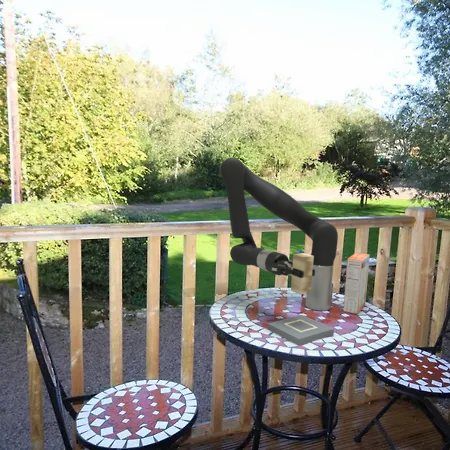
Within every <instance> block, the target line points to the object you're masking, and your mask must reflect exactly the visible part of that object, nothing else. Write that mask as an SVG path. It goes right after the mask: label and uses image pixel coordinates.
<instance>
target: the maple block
mask: <svg viewBox="0 0 450 450" xmlns="http://www.w3.org/2000/svg"><path fill="white" fill-rule="evenodd" d="M313 260H314V256H312V255H311V254H309V253H304V252H302V253H301V252H300V253H294V254H293V257H292V261H293V268H294V269H298V270H302V271H304V277H303V278H299V277H297V276H291V282H290V291H291V292H294V293H296V294H298V295H306V293H311V283H312V270H313Z"/></svg>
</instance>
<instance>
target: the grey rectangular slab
mask: <svg viewBox="0 0 450 450" xmlns="http://www.w3.org/2000/svg"><path fill="white" fill-rule="evenodd" d="M267 330H269V331H270V332H272V333H274V334H275V335H278V336H279V337H281V338H284V339H285V340H287V341H289V342H292V343H293V344H295V345H297V346H301V345H305V344H308V343H311V342H315V341H317V340H320V339H325V338H327V337H330V336H334V335H335V334H334V333H335V329H334V328H333V327H330V326H328V325H326V324H324V323H322V322H319V321H317V320H314V319H312V318H310V317H308V316H305V315H303V314H302V315H301V314H300V315H297V316H292V317H288V318H284V319H280V320H276V321H271V322H268V323H267ZM324 337H325V338H324Z"/></svg>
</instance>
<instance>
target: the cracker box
mask: <svg viewBox="0 0 450 450" xmlns="http://www.w3.org/2000/svg"><path fill="white" fill-rule="evenodd" d="M370 255H371V254H368V253H363V252H355V253H353V254H352V255H351V256H349V257H347V260H346V271H345V272H346V273H345V285H344V298H343V310H342V311H343V313H350V314H353V315H359V314H360V312H361V311H362V310H363V308H364V307H365V306H366V300H367V292H368V291H367V290H368V289H367V287H368V279H369V276H368V275H369V268H370V257H371V256H370Z"/></svg>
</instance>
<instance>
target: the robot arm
mask: <svg viewBox="0 0 450 450" xmlns="http://www.w3.org/2000/svg"><path fill="white" fill-rule="evenodd" d="M219 174H220V176H221V178H222V181H223V184H224V188H225V190H226V197H227V203H228V213H229V215H228V216H229V224H230V231H231V236H232V237H233V238H234V239H241V240H242V243H239V244H235V245H233V246H232V247H231V249H230V250H229V255H230V259H231V260H232V261H233V262H234V263H235V264H238V265H241V266H242V265H243V266H254V267H255V268H259V269H262V270H263V271H264V272H267V273H270V274H274V275H276V276H285V277H288V276H291V277H292V276H297V277H299V278H303V277H304V271H302V270H298V269H294V268H293V260H290V259H289V257H288V255H286V254H285V253H281V252H279V251H275V250H271V249H266V248H262V247H258V246H257V244H256V241H255V240H254V237H253V234H252V232H251V228H250V227H251V226H250V220H249V219H250V218H249V213H248V209H247V208H248V207H247V205H246V204H247V203H246V197H245V192H246V193H248V194H249V195H250V196H251V198H253V199H254V200H255V201H256V202H257V203H259V204H260V206H262V207H263V208H265V209H266V210H267V211H268V212H270V213H271V214H273V215H275V216H276V217H278V218H279V219H281V220H282V221H284V222H287V223H289V224H290V225H292V226H295V227H297V229H299V230H300V231H301V232H303V233H304V234H305V235H306V236H308V238H309V239H311V240H312V243H311V244H312V245H311V253H310V255H312V256H314V260H313V270H312V283H311V293H305V307H306V308H308V309H310V310H314V311H321V312H322V311H324V312H325V311H328V310H330V309H331V308H332V305H333V304H332V303H333V291H334V283H333V275H334V263H335V259H336V256H337V250H338V242H339V241H338V240H339V234H338V233H339V232H338V229H337V228H336V227H335V226H334V225H333V224H331V223H329V222H328V221H325V220H323V219H321V218H320V217H317V216H316V215H314V214H312V213H311V212H309V211H308V210H307V209H305V207H303V206H302V204H301V203H299V202H298V201H297V199H295V198H293V196H291V195H290V194H289V193H287V192H286V191H284V190H283V189H281V188H280V187H278V186H276V185H274V184H273V183H271V182H270V181H267V180H266V179H264V178H262V177H260V176H258V175H257V174H255V173H254V172H253V171H252V170H250V169H249V167H247V166H246V165H245V164H244V163H243V162H242V161H241V160H240V159H238V158H237V157H228V158H226V159H224V160H223V161H222V162H221V164H220V167H219Z"/></svg>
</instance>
